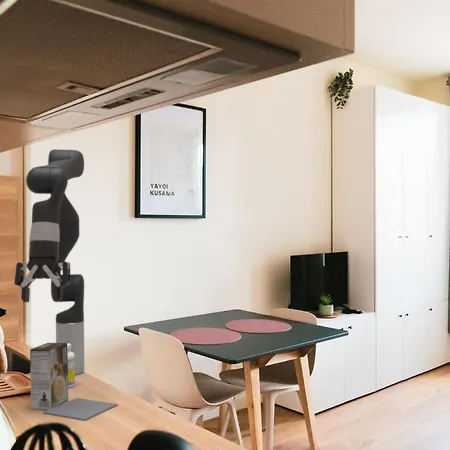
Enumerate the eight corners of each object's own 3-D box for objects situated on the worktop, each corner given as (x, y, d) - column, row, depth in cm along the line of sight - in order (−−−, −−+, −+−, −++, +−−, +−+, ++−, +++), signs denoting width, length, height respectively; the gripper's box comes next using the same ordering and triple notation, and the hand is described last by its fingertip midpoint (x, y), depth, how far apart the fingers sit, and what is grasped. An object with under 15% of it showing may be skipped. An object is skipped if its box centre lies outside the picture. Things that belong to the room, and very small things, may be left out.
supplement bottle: (48, 386, 162) (48, 344, 162) (68, 382, 167) (68, 341, 167) (58, 391, 157) (58, 347, 157) (78, 386, 162) (78, 344, 162)
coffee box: (48, 398, 150) (47, 342, 150) (68, 399, 148) (68, 342, 149) (29, 409, 141) (29, 348, 141) (51, 410, 139) (51, 349, 140)
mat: (43, 413, 137) (43, 411, 137) (77, 399, 148) (77, 397, 149) (85, 420, 131) (85, 419, 131) (117, 405, 142) (117, 403, 142)
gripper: (75, 242, 144) (73, 302, 141) (25, 243, 145) (22, 302, 142) (65, 238, 137) (62, 301, 134) (12, 239, 138) (8, 302, 135)
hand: (41, 302), depth 138 cm, fingers open, 8 cm apart
